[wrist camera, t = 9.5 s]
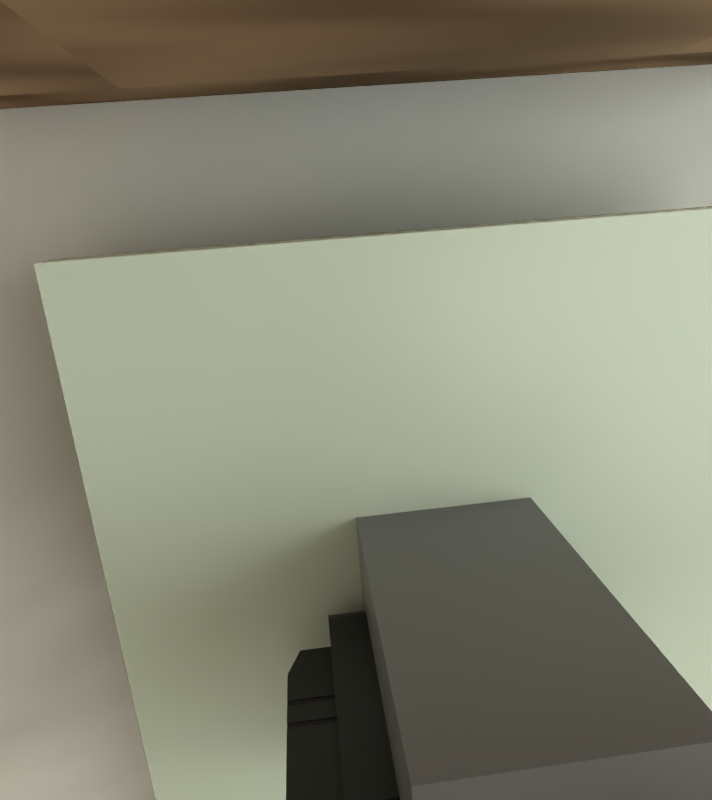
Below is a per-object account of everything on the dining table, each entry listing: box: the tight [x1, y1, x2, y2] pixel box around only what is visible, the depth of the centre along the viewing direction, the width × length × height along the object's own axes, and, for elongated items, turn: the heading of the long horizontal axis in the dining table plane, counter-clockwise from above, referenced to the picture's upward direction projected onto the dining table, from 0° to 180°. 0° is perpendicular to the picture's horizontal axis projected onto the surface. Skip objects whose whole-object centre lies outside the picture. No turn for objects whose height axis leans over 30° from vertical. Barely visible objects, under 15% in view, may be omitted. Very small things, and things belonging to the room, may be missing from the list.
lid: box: [33, 206, 712, 800], centre depth 9 cm, size 11×14×6 cm
